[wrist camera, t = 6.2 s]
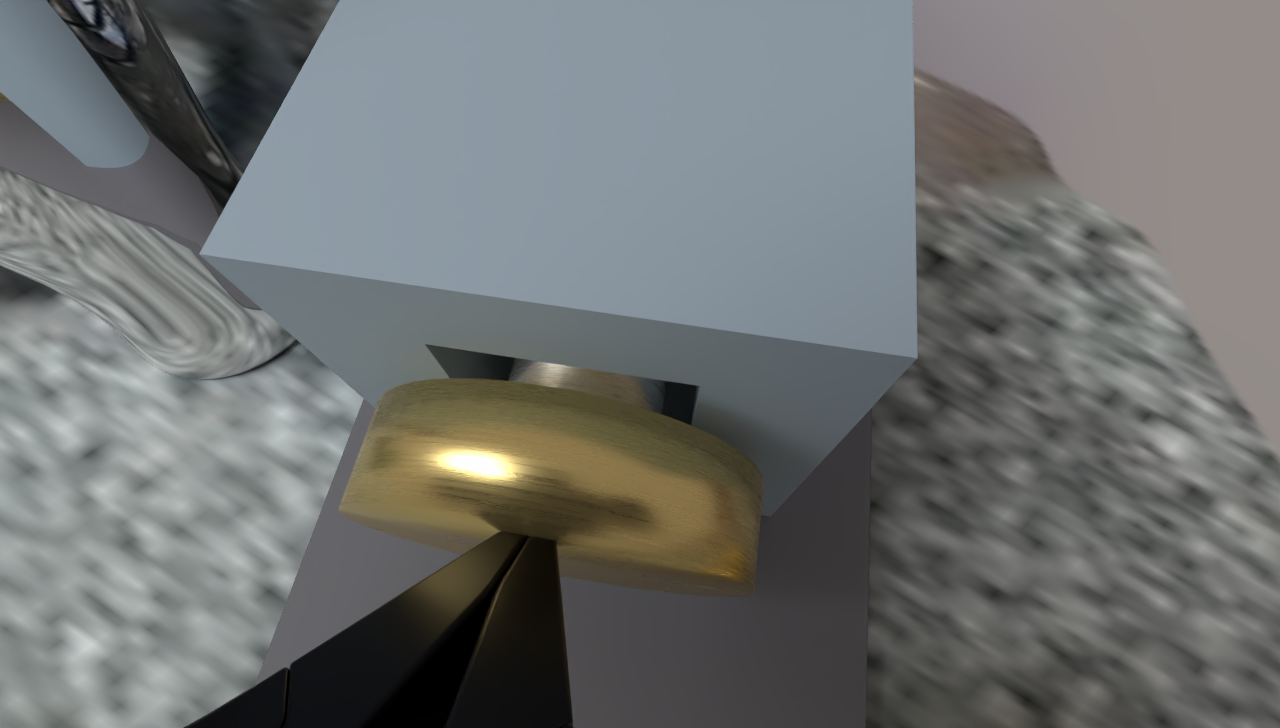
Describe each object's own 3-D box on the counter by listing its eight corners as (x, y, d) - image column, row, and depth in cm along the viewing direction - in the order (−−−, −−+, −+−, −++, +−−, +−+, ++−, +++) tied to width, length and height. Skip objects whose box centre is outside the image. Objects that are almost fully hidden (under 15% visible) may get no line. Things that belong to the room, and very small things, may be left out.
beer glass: (291, 170, 21) (-333, -663, 8) (383, 311, 19) (-281, -533, 5) (86, 273, 20) (-1155, -555, 6) (159, 441, 17) (-1596, -299, 4)
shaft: (727, 605, 14) (797, 569, 7) (423, 551, 14) (241, 472, 8) (780, 110, 20) (843, -145, 13) (565, 85, 20) (527, -171, 14)
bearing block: (770, 516, 16) (917, 357, 7) (434, 459, 17) (198, 253, 8) (789, 285, 19) (912, -29, 10) (501, 246, 20) (384, -79, 11)
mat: (839, 1648, 9) (847, 1687, 9) (2, 1384, 11) (-22, 1412, 10) (870, 292, 19) (874, 285, 19) (433, 232, 20) (429, 224, 20)
